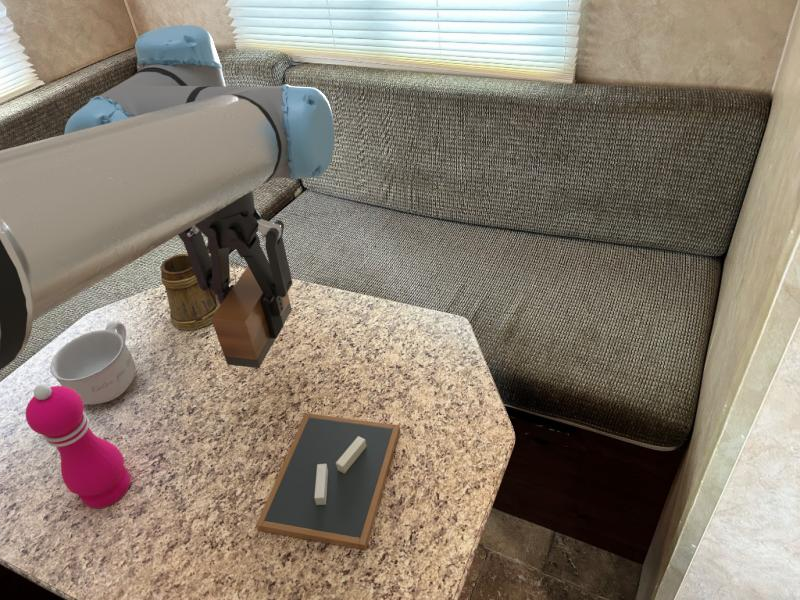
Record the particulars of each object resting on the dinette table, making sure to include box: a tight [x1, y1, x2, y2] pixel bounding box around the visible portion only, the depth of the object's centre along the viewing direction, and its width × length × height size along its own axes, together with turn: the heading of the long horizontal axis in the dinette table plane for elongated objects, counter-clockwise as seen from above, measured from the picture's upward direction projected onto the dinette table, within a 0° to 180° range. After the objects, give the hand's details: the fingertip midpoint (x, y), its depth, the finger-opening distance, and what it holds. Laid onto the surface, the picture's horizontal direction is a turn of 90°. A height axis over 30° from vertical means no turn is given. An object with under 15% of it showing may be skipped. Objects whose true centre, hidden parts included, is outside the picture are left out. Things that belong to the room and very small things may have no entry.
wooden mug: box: [160, 242, 220, 331], centre depth 103 cm, size 9×14×18 cm, turn 90°
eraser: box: [211, 265, 293, 369], centre depth 81 cm, size 12×5×8 cm, turn 167°
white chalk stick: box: [336, 436, 366, 474], centre depth 80 cm, size 5×1×2 cm, turn 147°
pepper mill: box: [25, 383, 131, 509], centre depth 75 cm, size 7×7×20 cm
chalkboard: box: [255, 412, 401, 551], centre depth 80 cm, size 18×14×1 cm
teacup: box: [49, 320, 136, 405], centre depth 95 cm, size 14×11×8 cm
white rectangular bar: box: [314, 464, 328, 505], centre depth 77 cm, size 5×1×2 cm, turn 2°
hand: (259, 329), depth 83 cm, fingers closed on eraser, 5 cm apart
